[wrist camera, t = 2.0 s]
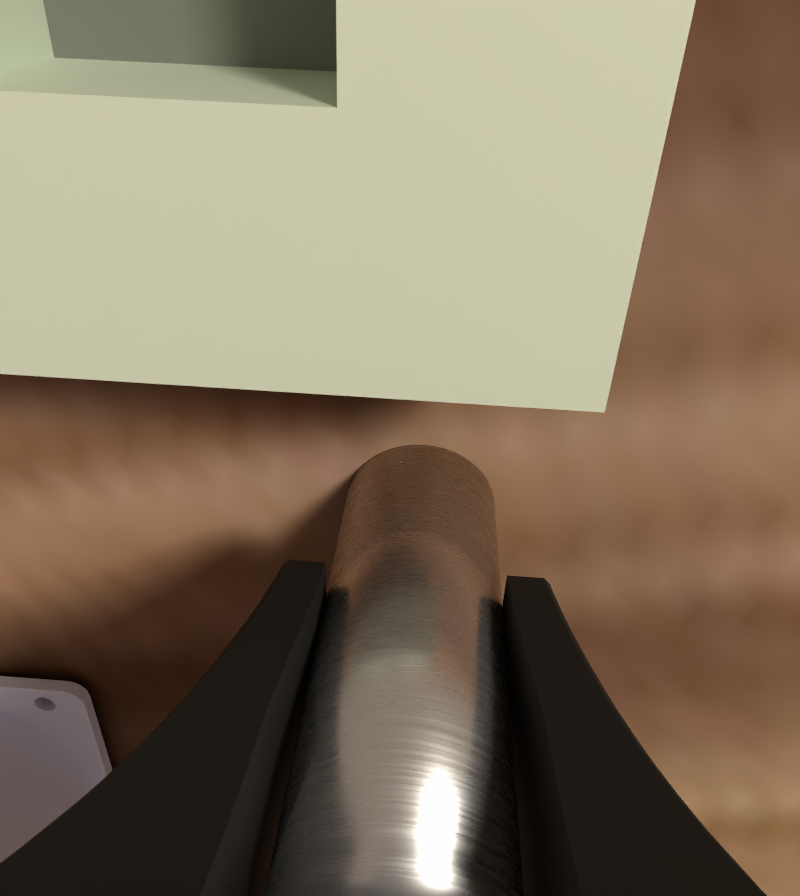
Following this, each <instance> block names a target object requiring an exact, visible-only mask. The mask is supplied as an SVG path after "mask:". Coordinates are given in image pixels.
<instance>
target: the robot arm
mask: <svg viewBox="0 0 800 896" xmlns="http://www.w3.org/2000/svg"><path fill="white" fill-rule="evenodd" d="M325 600H326V565H325V563H323V562H309V561H295V560H289V561H288V562H286V563H285V564H283V566H282V568H281V569H280V571H279V573H278V574H277V576H276V578H275V579H274V581H273V583H272V584H271V586H270V587H269V589H268V590H267V592H266V593H265V595H264V596H263V598H262V599H261V601H260V602H259V604H258V605H257V607H256V608H255V610H254V611H253V612H252V614H251V615H250V617H249V618H248V620H247V621H246V622H245V624H244V625H243V626H242V628H241V629H240V630H239V632H238V633H237V634H236V636H235V637H234V638H233V640H232V641H231V642H230V644H229V645H228V646H227V647H226V649H225V650H224V651H223V653H222V654H221V655H220V657H219V658H218V659H217V660H216V661H215V663H214V664H213V665H212V666H211V667H210V669H209V670H208V671H207V672H206V673H205V674H204V676H203V677H202V678H201V679H200V680H199V682H198V683H197V684H196V685H195V686H194V687H193V689H192V690H191V691H190V692H189V693H188V694H187V696H186V697H185V698H184V699H183V700H182V701H181V702H180V703H179V705H178V706H177V707H176V708H175V709H174V710H173V711H172V712H171V713H170V714H169V715H168V716H167V717H166V719H165V720H164V721H163V722H162V723H161V724H160V725H159V726H158V727H157V728H156V729H155V730H154V731H153V732H152V733H151V734H150V735H149V736H148V737H147V738H146V739H145V740H144V741H143V742H142V743H141V744H140V745H139V746H138V747H137V748H136V749H135V750H134V751H133V752H132V753H131V754H130V755H128V756H127V757H126V758H125V759H124V760H123V761H122V762H121V763H120V764H119V765H118V766H117V767H116V768H114V769H113V770H112V767H111V764H110V760H109V757H108V754H107V750H106V747H105V744H104V740H103V737H102V734H101V730H100V727H99V724H98V720H97V717H96V714H95V710H94V707H93V704H92V700H91V697H90V695H89V693H88V691H87V690H86V689H85V688H84V687H83V686H81V685H79V684H77V683H75V682H70V681H61V680H48V679H35V678H23V677H10V676H0V896H264V891H265V887H266V882H267V877H268V872H269V867H270V863H271V858H272V853H273V848H274V843H275V839H276V834H277V829H278V824H279V820H280V815H281V810H282V805H283V800H284V796H285V791H286V786H287V781H288V776H289V772H290V767H291V762H292V757H293V752H294V748H295V743H296V738H297V733H298V729H299V724H300V719H301V714H302V709H303V705H304V700H305V695H306V690H307V685H308V681H309V676H310V671H311V666H312V661H313V657H314V652H315V647H316V643H317V638H318V633H319V628H320V624H321V619H322V614H323V609H324V604H325ZM502 614H503V627H504V640H505V654H506V665H507V679H508V692H509V705H510V718H511V732H512V745H513V758H514V772H515V785H516V798H517V812H518V825H519V838H520V852H521V865H522V878H523V892H524V896H767V895H766V894H765V893H764V892H763V891H762V890H761V889H760V888H759V887H758V886H757V885H756V884H755V883H754V881H753V880H752V879H751V878H750V877H749V876H748V875H747V874H746V873H745V871H744V870H743V869H742V868H741V867H740V866H739V865H738V864H737V863H736V862H735V860H734V859H733V858H732V857H731V856H730V855H729V854H728V853H727V852H726V850H725V849H724V848H723V847H722V846H721V845H720V844H719V843H718V842H717V841H716V839H715V838H714V837H713V836H712V835H711V834H710V833H709V832H708V831H707V829H706V828H705V827H704V826H703V825H702V823H701V822H700V821H699V820H698V819H697V817H696V816H695V815H694V814H693V812H692V811H691V810H690V809H689V808H688V806H687V805H686V804H685V803H684V801H683V800H682V799H681V798H680V797H679V795H678V794H677V793H676V791H675V790H674V789H673V788H672V786H671V785H670V784H669V782H668V781H667V780H666V778H665V777H664V776H663V775H662V773H661V772H660V771H659V769H658V768H657V767H656V765H655V764H654V763H653V761H652V760H651V758H650V757H649V756H648V754H647V753H646V752H645V750H644V749H643V747H642V746H641V744H640V743H639V742H638V740H637V739H636V737H635V736H634V734H633V733H632V731H631V730H630V728H629V727H628V725H627V724H626V722H625V721H624V719H623V718H622V716H621V715H620V713H619V712H618V710H617V709H616V707H615V706H614V704H613V702H612V701H611V699H610V698H609V696H608V694H607V693H606V691H605V689H604V688H603V686H602V684H601V683H600V681H599V679H598V678H597V676H596V674H595V672H594V671H593V669H592V667H591V666H590V664H589V662H588V661H587V659H586V657H585V655H584V653H583V652H582V650H581V648H580V646H579V644H578V642H577V641H576V639H575V637H574V635H573V633H572V631H571V629H570V627H569V625H568V623H567V621H566V619H565V617H564V615H563V613H562V611H561V609H560V607H559V605H558V602H557V600H556V598H555V596H554V593H553V591H552V589H551V586H550V584H549V583H548V582H547V581H546V580H545V579H544V578H533V577H519V576H507V580H506V586H505V593H504V599H503V605H502Z"/></svg>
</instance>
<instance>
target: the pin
mask: <svg viewBox="0 0 800 896" xmlns="http://www.w3.org/2000/svg"><path fill="white" fill-rule="evenodd" d="M264 896H524V892H523V878H522V865H521V852H520V838H519V825H518V812H517V798H516V785H515V772H514V758H513V745H512V732H511V718H510V705H509V692H508V679H507V665H506V654H505V640H504V627H503V614H502V599H501V585H500V572H499V559H498V545H497V532H496V519H495V505H494V497H493V493H492V489H491V487H490V485H489V483H488V481H487V479H486V478H485V476H484V475H483V474H482V472H481V471H480V470H479V469H478V468H477V467H476V466H475V465H474V464H472V463H471V462H470V461H468V460H467V459H465V458H464V457H462V456H460V455H458V454H456V453H454V452H452V451H449V450H446V449H443V448H439V447H435V446H427V445H410V446H402V447H398V448H393V449H391V450H388V451H385V452H383V453H381V454H379V455H377V456H375V457H373V458H372V459H370V460H369V461H368V462H367V463H365V464H364V465H363V466H362V467H361V468H360V469H359V471H358V472H357V473H356V475H355V476H354V478H353V479H352V482H351V484H350V486H349V490H348V494H347V499H346V503H345V508H344V513H343V518H342V523H341V527H340V532H339V537H338V542H337V546H336V551H335V556H334V561H333V566H332V570H331V575H330V580H329V585H328V590H327V594H326V600H325V604H324V609H323V614H322V619H321V624H320V628H319V633H318V638H317V643H316V647H315V652H314V657H313V661H312V666H311V671H310V676H309V681H308V685H307V690H306V695H305V700H304V705H303V709H302V714H301V719H300V724H299V729H298V733H297V738H296V743H295V748H294V752H293V757H292V762H291V767H290V772H289V776H288V781H287V786H286V791H285V796H284V800H283V805H282V810H281V815H280V820H279V824H278V829H277V834H276V839H275V843H274V848H273V853H272V858H271V863H270V867H269V872H268V877H267V882H266V887H265V891H264Z"/></svg>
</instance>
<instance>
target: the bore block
mask: <svg viewBox="0 0 800 896" xmlns="http://www.w3.org/2000/svg"><path fill="white" fill-rule="evenodd" d="M695 2H696V0H0V374H10V375H26V376H41V377H57V378H73V379H88V380H104V381H120V382H135V383H151V384H167V385H182V386H198V387H214V388H230V389H245V390H261V391H277V392H292V393H308V394H324V395H339V396H355V397H371V398H387V399H402V400H418V401H434V402H449V403H465V404H481V405H496V406H512V407H528V408H543V409H559V410H575V411H591V412H605V408H606V404H607V399H608V395H609V390H610V386H611V381H612V377H613V372H614V368H615V363H616V358H617V354H618V349H619V345H620V340H621V336H622V331H623V327H624V322H625V318H626V313H627V309H628V304H629V300H630V295H631V291H632V286H633V282H634V277H635V273H636V268H637V264H638V259H639V255H640V250H641V246H642V241H643V237H644V232H645V227H646V223H647V218H648V214H649V209H650V205H651V200H652V196H653V191H654V187H655V182H656V178H657V173H658V169H659V164H660V160H661V155H662V151H663V146H664V142H665V137H666V133H667V128H668V124H669V119H670V115H671V110H672V106H673V101H674V96H675V92H676V87H677V83H678V78H679V74H680V69H681V65H682V60H683V56H684V51H685V47H686V42H687V38H688V33H689V29H690V24H691V20H692V15H693V11H694V6H695Z"/></svg>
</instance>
